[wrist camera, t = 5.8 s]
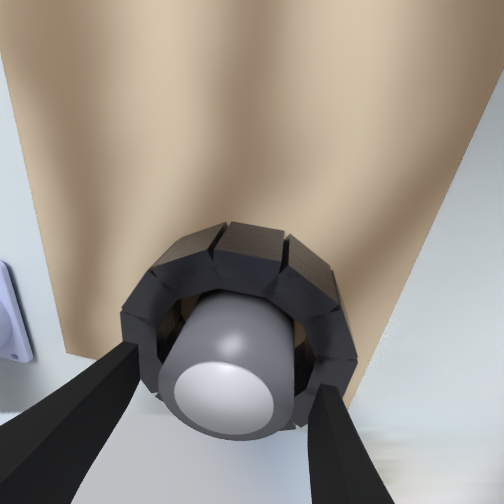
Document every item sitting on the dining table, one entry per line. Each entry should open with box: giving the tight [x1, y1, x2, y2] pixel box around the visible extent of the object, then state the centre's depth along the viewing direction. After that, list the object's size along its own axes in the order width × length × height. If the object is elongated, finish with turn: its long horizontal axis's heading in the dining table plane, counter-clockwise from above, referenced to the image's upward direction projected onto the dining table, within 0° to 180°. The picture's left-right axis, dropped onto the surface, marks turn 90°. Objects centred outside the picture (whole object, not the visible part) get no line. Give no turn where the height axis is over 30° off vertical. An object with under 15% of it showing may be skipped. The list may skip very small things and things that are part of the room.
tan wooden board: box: [0, 0, 504, 410], centre depth 12 cm, size 18×24×1 cm
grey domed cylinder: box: [158, 288, 294, 441], centre depth 12 cm, size 5×5×5 cm
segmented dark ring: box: [120, 221, 358, 431], centre depth 13 cm, size 10×10×3 cm
